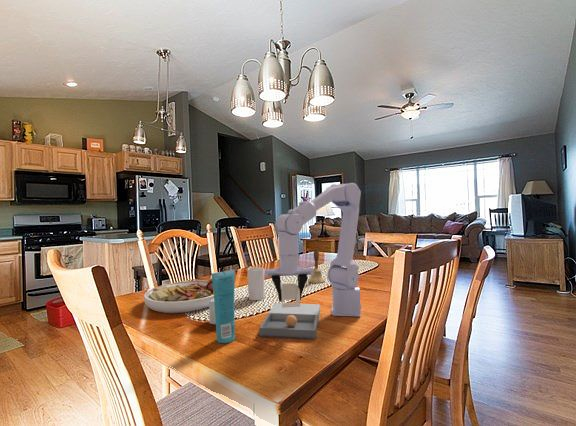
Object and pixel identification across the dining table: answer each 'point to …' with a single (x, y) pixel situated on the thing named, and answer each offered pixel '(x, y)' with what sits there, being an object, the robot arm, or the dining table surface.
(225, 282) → the tube
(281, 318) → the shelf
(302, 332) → the tray
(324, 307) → the dining table surface
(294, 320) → the ball
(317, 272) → the hand bell
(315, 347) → the dining table surface
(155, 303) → the bowl
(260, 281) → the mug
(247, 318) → the dining table surface
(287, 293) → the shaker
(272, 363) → the dining table surface
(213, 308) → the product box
